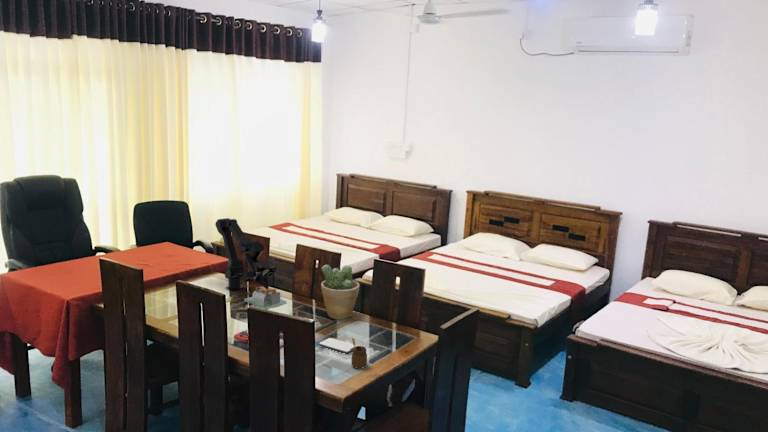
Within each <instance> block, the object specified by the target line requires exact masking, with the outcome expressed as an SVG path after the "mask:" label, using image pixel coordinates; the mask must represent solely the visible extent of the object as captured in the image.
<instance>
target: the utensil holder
mask: <svg viewBox="0 0 768 432" xmlns="http://www.w3.org/2000/svg"><path fill="white" fill-rule="evenodd" d="M351 340H352V344H353V345H354V348H353V353H351V366H352V365H353V366H354V367H357V368H356V369H359V368H360V369H363V368H362V367H364V368H366V367H367V365H368V353H367V347H366V346H367V343H368V340H366V337H363V339H361V341H360V344H364V345H358V346H356V347H355V345H357V344H356V341H355V338H354V337H351ZM353 366H352V367H353ZM365 366H366V367H365ZM354 367H353V368H354Z"/></svg>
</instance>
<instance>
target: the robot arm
mask: <svg viewBox="0 0 768 432" xmlns="http://www.w3.org/2000/svg"><path fill="white" fill-rule="evenodd" d="M215 228H216V230H217V232H218V233H219V234H220V235H221V237H222V240H223V244H224V246H225V250H226V256H227V259H228V263H227V265H226V269H227V270H226V271H225V273H224V277H225V279H227V280H228V286H226V287H225V289H227V288H228V290H230V289H231V290H230V291H232V290H234V291H237V289H238V290H241V288H242V289H243V288H244V287H243V286H241V282H243V283H248V282H250V279H252V278H253V279H254V280H253V282H254V283H255V282H256V283H257V284H259V285H260V286H261V287H262V286H263V287H265V288H266V289H268V288H270V286H269V277H273V276H274V275H275V274H276V273H277V272H278V270H279V269H278V268H277V266H275V265H273V266H271V265H272V260H271V258H266V259H265V260H261V259H259V257H261V255H262V254H263V252H264V250H265V245H264V244H262V243H261V242H259V241H258V240H254V241H253V240H252V239H251V238H249V237H247V236H246V235H245V233H244V232H243V230H242V229H241V227H240V225H239V224H238V220H237V219H236V218H232V219H231V218H228V217H227V218H219V219H217V220H216V221H215ZM233 236H234V238H235V240H236V242H237V249H238V251H239V252H240V253H241V254H244V256H243V259H242V260H241V259H239V258H238V253H237V250H236V246H235V242H234V239H233ZM243 261H246V262H247V264H248V270H251V271H247V272H245V270H246V269H245V268H246V267H245V266H244V262H243ZM267 267H268V268H267ZM266 269H267V270H266ZM241 280H242V281H241Z"/></svg>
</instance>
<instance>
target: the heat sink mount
mask: <svg viewBox="0 0 768 432" xmlns="http://www.w3.org/2000/svg"><path fill="white" fill-rule="evenodd" d="M258 287H259V286H256V287H255V290H254V291H253V292H252V296H250V297H246V298H244V299H243V301H244V302H246V303H249V304H250V305H254V306H256V305H257V306H256V307H258V306H260V307H259V308H261V309H263V308H265V309H264V310H269V309H271V308H275V307H280V306H283V305H285V304H287V300H284V299H283V298H282V299H281V292H279V291H277V290H276V293H273V294H271V292H268V291H267V290H266V291H263V290H259V289H258Z"/></svg>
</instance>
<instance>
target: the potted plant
mask: <svg viewBox="0 0 768 432" xmlns="http://www.w3.org/2000/svg"><path fill="white" fill-rule="evenodd" d="M321 270H322V274H323V275H324V280H323V281H321V283H320V285H321V286H320V288H321V294H322V295H323V297H322V298H323V302H324V306H325V309H326V313H327V316H328V317H329V318H331V319H334V320H345V318H346V319H349V318H351V317H352V315H353V312H354V310H355V306H356V303H357V298H358V295H359V294H360V293H359V292H360V283H359V282H358V281H356V280H354V278H353V267H352V266H351V265H349V264H348V265H347V264H346V265H344V266H342V269H341V270H339V268H338V267H334V268H332V267H331V266H330V265H329V264H324V265H323V266H322V267H321ZM350 316H351V317H350ZM348 317H349V318H348Z"/></svg>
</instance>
